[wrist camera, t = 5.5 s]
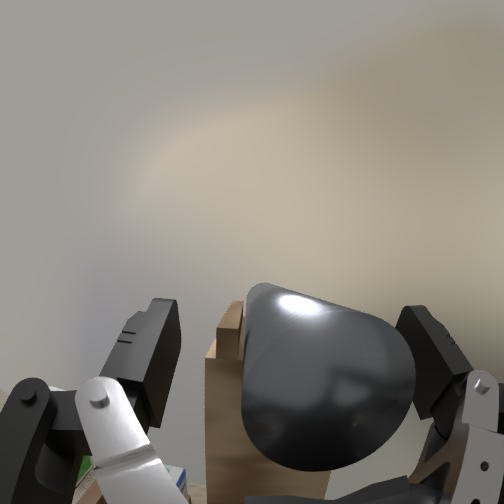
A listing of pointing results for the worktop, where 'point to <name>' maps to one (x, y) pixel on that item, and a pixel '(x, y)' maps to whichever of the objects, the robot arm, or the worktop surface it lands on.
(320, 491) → the stand
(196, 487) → the worktop surface
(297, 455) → the pin
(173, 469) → the medicine box
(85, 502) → the tall wooden post
